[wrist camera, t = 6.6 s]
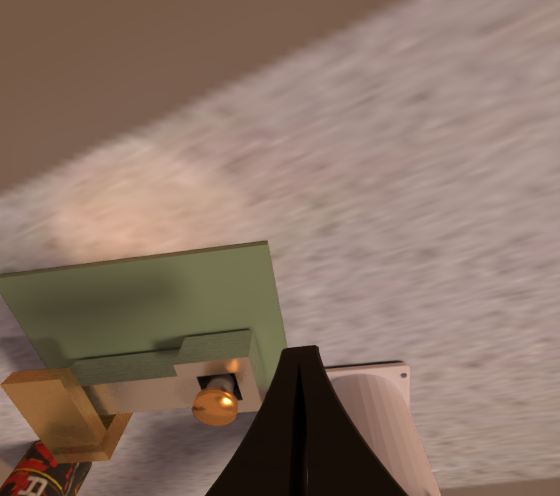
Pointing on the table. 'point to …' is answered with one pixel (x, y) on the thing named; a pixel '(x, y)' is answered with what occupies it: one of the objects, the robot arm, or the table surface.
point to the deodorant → (44, 475)
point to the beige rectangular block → (174, 375)
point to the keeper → (64, 415)
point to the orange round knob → (217, 401)
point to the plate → (149, 304)
